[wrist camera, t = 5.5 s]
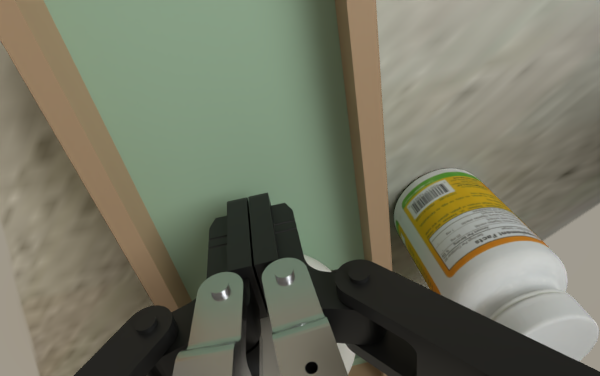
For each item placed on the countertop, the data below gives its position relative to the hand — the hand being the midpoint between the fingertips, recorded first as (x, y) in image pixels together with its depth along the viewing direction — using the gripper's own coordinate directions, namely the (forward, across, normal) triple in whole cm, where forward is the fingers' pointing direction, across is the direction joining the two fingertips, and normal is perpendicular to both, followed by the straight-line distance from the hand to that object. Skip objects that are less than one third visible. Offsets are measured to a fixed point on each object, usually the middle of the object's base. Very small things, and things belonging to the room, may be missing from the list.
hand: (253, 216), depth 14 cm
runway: (+6, 0, +2) cm, 6 cm away
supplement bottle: (+6, -10, +6) cm, 13 cm away
